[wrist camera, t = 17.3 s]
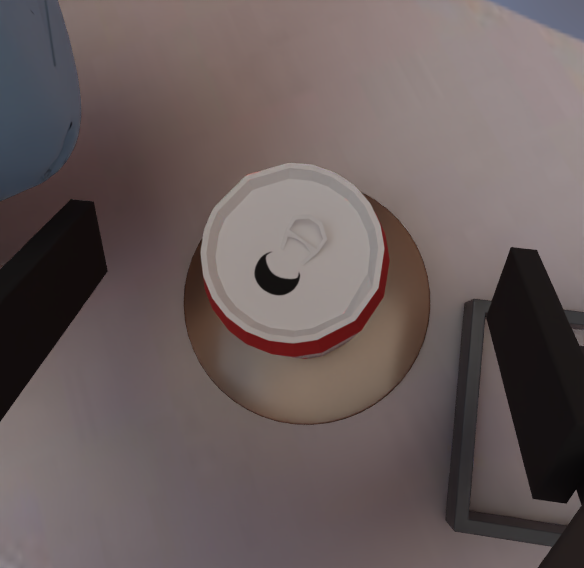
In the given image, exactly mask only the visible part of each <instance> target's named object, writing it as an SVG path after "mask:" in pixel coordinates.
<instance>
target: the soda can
mask: <svg viewBox="0 0 584 568" xmlns="http://www.w3.org/2000/svg"><path fill="white" fill-rule="evenodd" d="M201 261H202V270H203V279H204V288H205V292H206V294H207V297H208V299H209V302H210V304H211V307H212V309H213V311H214V312H215V313H216V314H217V316H218V317H219V318H220V320H221V321H222V322H223V324H224V325H225V326H226V328H227V329H228V330H229V331H230V332H231V333H232V334H234V335H235V336H236V337H238V338H239V339H240V340H242V341H243V342H244V343H246V344H247V345H250V346H252V347H255V348H257V349H260V350H262V351H265V352H267V353H270V354H273V355H280V356H286V357H293V358H302V359H308V358H315V357H321V356H324V355H326V354H328V353H329V352H331V351H333V350H335V349H337V348H338V347H340V346H342V345H344V344H346V343H347V342H348V341H350V340H351V339H352V338H353V337H354V336H356V335H357V334H358V333H359V332H361V331H362V329H363V327H364V326H365V324H366V323H367V321H368V320H369V318H370V317H371V315H372V314H373V312H374V311H375V309H376V308H377V306H378V305H379V303H380V302H381V300H382V299H383V297H384V294H385V287H386V281H387V275H388V268H389V262H390V258H389V253H388V247H387V241H386V235H385V232H384V230H383V228H382V225H381V223H380V221H379V219H378V217H377V215H376V213H375V212H374V210H373V208H372V206H371V204H370V203H369V201H368V200H367V199H366V198H365V197H364V195H363V194H362V193H361V192H360V191H359V190H358V188H357V187H356V186H355V185H353V184H352V183H350V182H349V181H347V180H346V179H344V178H343V177H342V176H340V175H339V174H337V173H335V172H332V171H330V170H327V169H324V168H321V167H318V166H316V165H312V164H301V163H286V164H282V165H279V166H275V167H272V168H268V169H265V170H261V171H258V172H254V173H251V174H247V175H246V176H245V177H244V178H243V179H242V180H241V181H240V182H239V183H238V184H237V185H236V186H235V187H234V188H233V189H232V190H231V191H230V192H229V193H228V194H227V195H226V196H225V197H224V198H223V199H222V200H221V201H220V202H219V203H218V204H217V205H216V206H215V207H214V208H213V209H212V212H211V214H210V216H209V219H208V221H207V223H206V226H205V228H204V232H203V239H202V246H201Z"/></svg>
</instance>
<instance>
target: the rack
mask: <svg viewBox="0 0 584 568" xmlns="http://www.w3.org/2000/svg"><path fill="white" fill-rule="evenodd" d="M491 302H492V301H488V300H480V299H473V300H470V301H468V302H466V303H465V305H464V316H463V327H462V339H461V350H460V362H459V373H458V384H457V396H456V407H455V418H454V430H453V441H452V453H451V464H450V475H449V487H448V498H447V510H446V521H447V523H448V524H449V525H450V527H451V528H452V529H453V530H454V531H455V532H461V533H468V534H474V535H481V536H487V537H494V538H500V539H506V540H513V541H519V542H526V543H532V544H538V545H545V546H551V547H553V545H554V544H555V543H556V541H557V540H558V538H559V537H560V536H561V534H562V533H563V531H564V530H565V529H566V527H567V526H564V525H557V524H551V523H544V522H538V521H531V520H524V519H518V518H511V517H505V516H498V515H492V514H485V513H479V512H472V511H469V507H470V495H471V483H472V470H473V458H474V446H475V434H476V422H477V409H478V397H479V385H480V373H481V361H482V349H483V336H484V324H485V317H486V316H487V313H488V310H489V307H490V305H491ZM564 312H565V315H566V317H567V319H568V321H569V324H570V326H571V328H576V329H584V312H578V311H569V310H564Z"/></svg>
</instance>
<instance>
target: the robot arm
mask: <svg viewBox="0 0 584 568" xmlns="http://www.w3.org/2000/svg"><path fill="white" fill-rule="evenodd" d="M80 123H81V97H80V88H79V81H78V75H77V69H76V65H75V60H74V56H73V52H72V48H71V44H70V40H69V36H68V32H67V29H66V26H65V22H64V19H63V15H62V12H61V9H60V6H59V2H58V0H0V201H2V200H5V199H7V198H9V197H12V196H14V195H16V194H18V193H21V192H23V191H25V190H27V189H30V188H32V187H34V186H37V185H39V184H41V183H42V182H44V181H46V180H47V179H49V178H50V177H51V176H52V175H54V174H55V173H56V172H58V170H59V169H60V168H61V167H62V166H63V165H64V164H65V163H66V161H67V160H68V158H69V157H70V155H71V153H72V151H73V149H74V147H75V144H76V142H77V138H78V134H79V130H80ZM107 272H108V271H107V266H106V261H105V256H104V251H103V246H102V241H101V236H100V231H99V226H98V221H97V216H96V211H95V206H94V202H92V201H82V200H73V199H71V200H70V201H69V202H68V203H67V204H66V205H65V206H64V207H63V208H62V209H61V210H60V211H59V212H58V213H57V214H56V215H55V216H53V217H52V218H51V219H50V220H49V221H48V222H47V223H46V224H45V225H44V226H43V227H42V228H41V229H40V230H39V231H38V232H37V233H36V234H35V235H34V236H33V237H32V238H31V239H30V240H29V241H28V242H27V243H26V244H25V245H24V246H23V247H22V248H21V249H20V250H19V251H18V252H17V253H16V254H15V255H14V256H13V257H12V258H11V259H10V260H9V261H8V262H7V263H6V264H5V265H4V266H3V267H2V268H1V269H0V421H1V420H2V418H3V417H4V416H5V414H6V413H7V411H8V410H9V409H10V407H11V406H12V404H13V403H14V402H15V400H16V399H17V397H18V396H19V395H20V393H21V392H22V390H23V389H24V388H25V386H26V385H27V383H28V382H29V381H30V379H31V378H32V376H33V375H34V374H35V372H36V371H37V369H38V368H39V367H40V365H41V364H42V362H43V361H44V360H45V358H46V357H47V355H48V354H49V353H50V351H51V350H52V348H53V347H54V346H55V344H56V343H57V341H58V340H59V339H60V337H61V336H62V334H63V333H64V332H65V330H66V329H67V328H68V326H69V325H70V323H71V322H72V321H73V319H74V318H75V316H76V315H77V314H78V312H79V311H80V309H81V308H82V307H83V305H84V304H85V302H86V301H87V300H88V298H89V297H90V295H91V294H92V293H93V291H94V290H95V288H96V287H97V286H98V284H99V283H100V281H101V280H102V279H103V277H104V276H105V274H106V273H107ZM486 317H487V321H488V325H489V329H490V333H491V337H492V341H493V345H494V349H495V353H496V357H497V361H498V365H499V368H500V372H501V376H502V380H503V384H504V388H505V392H506V396H507V400H508V404H509V408H510V412H511V416H512V419H513V423H514V427H515V431H516V435H517V439H518V443H519V447H520V451H521V455H522V459H523V463H524V467H525V470H526V474H527V478H528V482H529V486H530V490H531V494H532V498H533V499H538V500H545V501H552V502H559V503H565V504H567V502H568V501H569V499H570V498H571V496H572V495H573V493H574V492H575V490H577V493H578V496H579V499H580V502H581V505H582V506H581V507H580V509H579V510H578V512H577V513H576V514H575V516H574V517H573V519H572V520H571V521H570V523H569V524H568V526H567V527H566V529H565V530H564V531H563V533H562V534H561V536H560V537H559V538H558V540H557V541H556V543H555V544H554V545H553V547H552V548H551V550H550V551H549V553H548V554H547V555H546V557H545V558H544V560H543V561H542V562H541V564H540V565H539V567H538V568H584V346H579V344H578V342H577V339H576V337H575V335H574V333H573V330H572V328H571V326H570V324H569V321H568V319H567V317H566V315H565V312H564V310H563V308H562V305H561V303H560V301H559V299H558V296H557V294H556V292H555V290H554V287H553V285H552V283H551V281H550V278H549V276H548V274H547V272H546V269H545V267H544V265H543V263H542V260H541V258H540V256H539V254H538V251H537V250H531V249H522V248H513V247H511V248H510V251H509V254H508V257H507V260H506V263H505V265H504V268H503V271H502V274H501V277H500V279H499V282H498V285H497V288H496V291H495V293H494V296H493V299H492V302H491V305H490V307H489V310H488V313H487V316H486Z"/></svg>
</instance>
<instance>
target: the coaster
mask: <svg viewBox="0 0 584 568" xmlns="http://www.w3.org/2000/svg"><path fill="white" fill-rule="evenodd" d="M361 193H362V192H361ZM362 194H363V195H364V197H365V198H366V199H367V200H368V201H369V203H370V204H371V206H372V208H373V210H374V212H375V213H376V215H377V217H378V219H379V221H380V223H381V225H382V228H383V230H384V232H385V235H386V241H387V247H388V253H389V258H390V262H389V268H388V275H387V281H386V287H385V294H384V297H383V299H382V300H381V302H380V303H379V305H378V306H377V308H376V309H375V311H374V312H373V314H372V315H371V317H370V318H369V320H368V321H367V323H366V324H365V326H364V327H363V329H362V331H361V332H359V333H358V334H357V335H356V336H354V337H353V338H352V339H351V340H350V341H348V342H347V343H346V344H344V345H342V346H340V347H338V348H337V349H335V350H333V351H331V352H329V353H328V354H326V355H324V356H321V357H315V358H308V359H302V358H293V357H286V356H280V355H273V354H270V353H267V352H265V351H262V350H260V349H257V348H255V347H252V346H250V345H247V344H246V343H244V342H243V341H242V340H240V339H239V338H238V337H236V336H235V335H234V334H232V333H231V332H230V331H229V330H228V329H227V328H226V326H225V325H224V324H223V322H222V321H221V320H220V318H219V317H218V316H217V314H216V313H215V312H214V311H213V309H212V307H211V304H210V302H209V299H208V297H207V294H206V292H205V288H204V279H203V270H202V261H201V246H202V240H201V241H200V243H199V245H198V247H197V249H196V251H195V253H194V255H193V257H192V260H191V263H190V267H189V270H188V273H187V278H186V284H185V291H184V314H185V322H186V327H187V332H188V336H189V339H190V342H191V345H192V348H193V350H194V352H195V354H196V356H197V358H198V360H199V362H200V364H201V366H202V367H203V369H204V370H205V372H206V373H207V375H208V376H209V377H210V379H211V380H212V381H213V382H214V383H215V384H216V385H217V386H218V388H219V389H220V390H221V391H222V392H224V393H225V394H226V395H227V396H228V397H229V398H231V399H232V400H233V401H234V402H236V403H238V404H239V405H241V406H242V407H244V408H245V409H247V410H249V411H251V412H253V413H256V414H258V415H260V416H262V417H265V418H268V419H272V420H275V421H278V422H284V423H290V424H302V425H314V424H323V423H330V422H334V421H338V420H342V419H346V418H348V417H351V416H353V415H356V414H358V413H361V412H362V411H364V410H366V409H368V408H369V407H371V406H373V405H375V404H376V403H377V402H379V401H380V400H381V399H383V398H384V397H385V396H387V395H388V394H389V393H390V392H391V391H392V390H393V389H394V388H395V387H396V386H397V385H398V384H399V383H400V382H401V380H402V379H403V378H404V377H405V375H406V374H407V373H408V371H409V370H410V368H411V367H412V365H413V363H414V361H415V360H416V358H417V356H418V354H419V352H420V349H421V347H422V344H423V342H424V339H425V335H426V331H427V327H428V322H429V314H430V289H429V283H428V276H427V273H426V269H425V266H424V262H423V259H422V257H421V255H420V253H419V250H418V248H417V246H416V244H415V242H414V241H413V239H412V238H411V236H410V234H409V233H408V231H407V230H406V229H405V227H404V226H403V225H402V224H401V222H400V221H399V220H398V219H397V218H396V217H395V216H394V215H393V214H392V213H391V212H390V211H389V210H388V209H386V208H385V207H384V206H382V205H381V204H380V203H378V202H377V201H376V200H374V199H372V198H371V197H369V196H367V195H365V194H364V193H362ZM202 239H203V238H202Z"/></svg>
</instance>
